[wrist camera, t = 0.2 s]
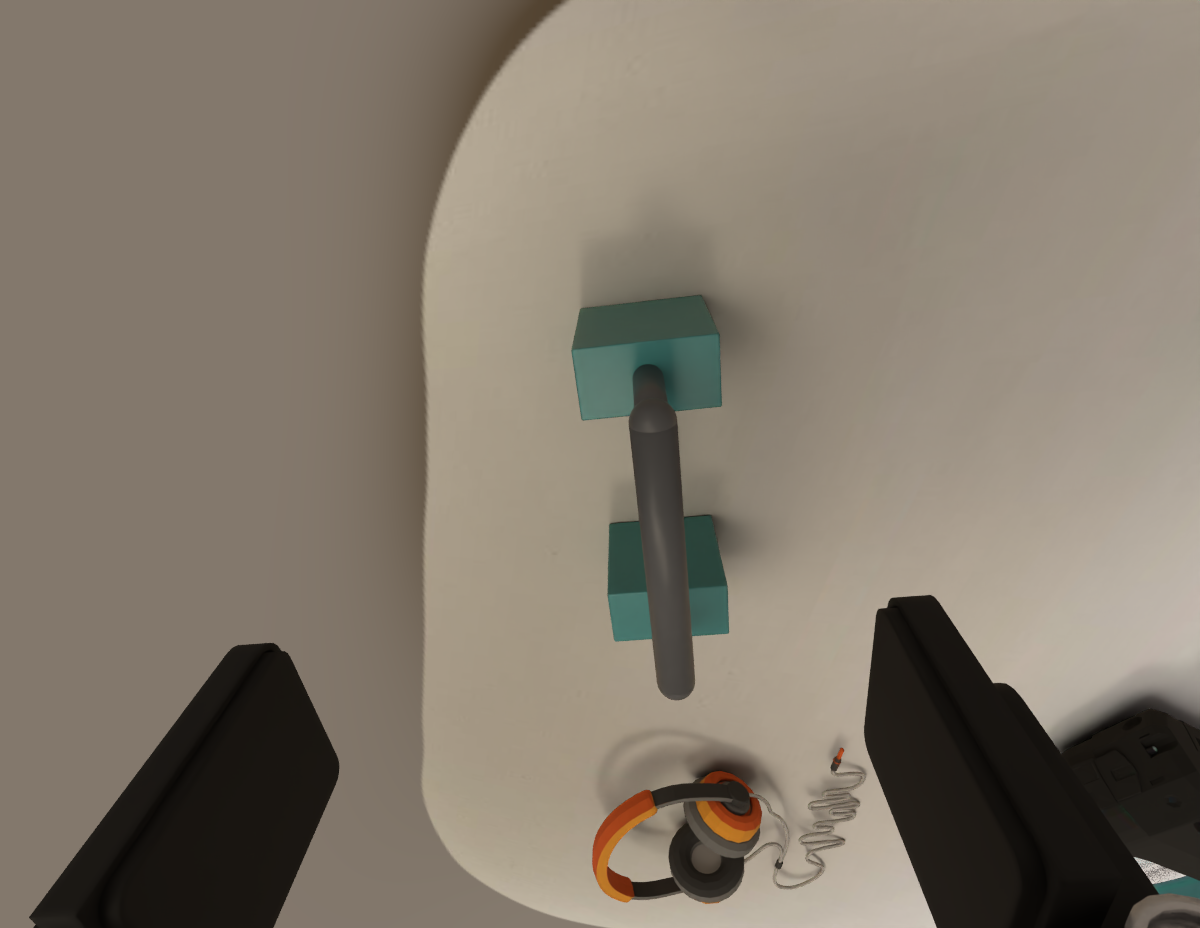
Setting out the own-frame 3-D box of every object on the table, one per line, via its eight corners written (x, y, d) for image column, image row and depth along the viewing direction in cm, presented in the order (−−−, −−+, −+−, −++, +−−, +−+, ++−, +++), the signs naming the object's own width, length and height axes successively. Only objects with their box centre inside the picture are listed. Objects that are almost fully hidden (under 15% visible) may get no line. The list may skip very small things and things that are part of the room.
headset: (579, 308, 29) (560, 398, 20) (701, 294, 29) (741, 379, 19) (614, 566, 36) (613, 724, 27) (713, 558, 36) (746, 716, 26)
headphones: (841, 919, 48) (586, 965, 44) (808, 849, 53) (573, 884, 48) (920, 779, 41) (619, 816, 36) (873, 711, 45) (600, 737, 40)
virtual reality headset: (1372, 769, 41) (1539, 957, 33) (1070, 873, 53) (1139, 1028, 46) (1178, 666, 37) (1316, 852, 29) (901, 804, 49) (944, 961, 41)
